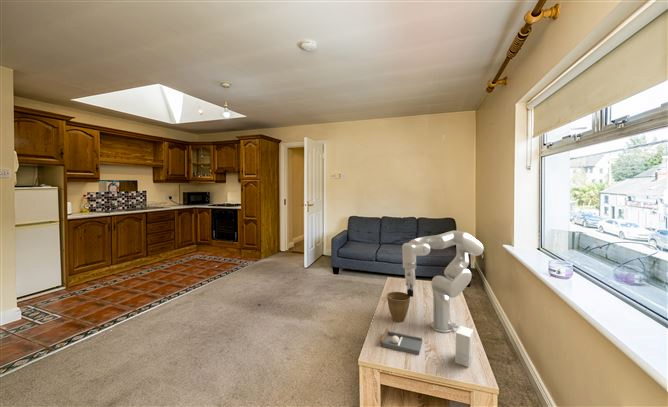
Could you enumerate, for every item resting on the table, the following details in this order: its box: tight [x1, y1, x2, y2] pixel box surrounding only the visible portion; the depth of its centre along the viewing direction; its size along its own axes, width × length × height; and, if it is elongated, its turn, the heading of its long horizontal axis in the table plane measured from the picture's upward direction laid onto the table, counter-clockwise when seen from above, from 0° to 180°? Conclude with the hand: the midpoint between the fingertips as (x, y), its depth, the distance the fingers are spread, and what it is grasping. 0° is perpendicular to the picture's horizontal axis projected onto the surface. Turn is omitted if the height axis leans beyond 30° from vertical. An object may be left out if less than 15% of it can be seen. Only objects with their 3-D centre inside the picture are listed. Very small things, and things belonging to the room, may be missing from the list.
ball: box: [392, 336, 399, 344], centre depth 149 cm, size 4×4×4 cm
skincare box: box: [454, 325, 474, 368], centre depth 132 cm, size 8×7×16 cm
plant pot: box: [386, 291, 411, 323], centre depth 175 cm, size 15×15×16 cm
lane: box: [380, 328, 423, 356], centre depth 148 cm, size 20×13×4 cm, turn 65°
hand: (410, 296), depth 156 cm, fingers closed
